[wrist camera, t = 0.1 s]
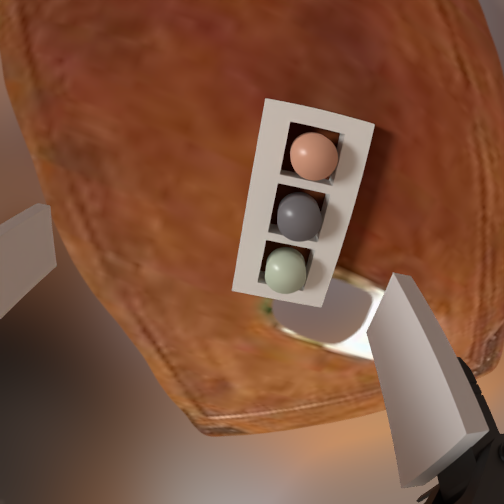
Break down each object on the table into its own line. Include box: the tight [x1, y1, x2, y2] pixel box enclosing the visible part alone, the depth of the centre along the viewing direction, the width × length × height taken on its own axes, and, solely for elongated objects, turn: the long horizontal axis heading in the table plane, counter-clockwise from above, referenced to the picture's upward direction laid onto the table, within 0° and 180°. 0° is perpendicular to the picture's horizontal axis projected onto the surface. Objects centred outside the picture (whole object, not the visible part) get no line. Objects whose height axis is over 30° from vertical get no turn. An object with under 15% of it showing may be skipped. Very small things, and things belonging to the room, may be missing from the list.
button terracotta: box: [290, 132, 338, 181], centre depth 31 cm, size 5×5×3 cm
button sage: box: [265, 247, 306, 294], centre depth 38 cm, size 5×5×3 cm
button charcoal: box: [277, 192, 322, 242], centre depth 34 cm, size 5×5×3 cm
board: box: [232, 98, 375, 307], centre depth 37 cm, size 24×12×3 cm, turn 170°
